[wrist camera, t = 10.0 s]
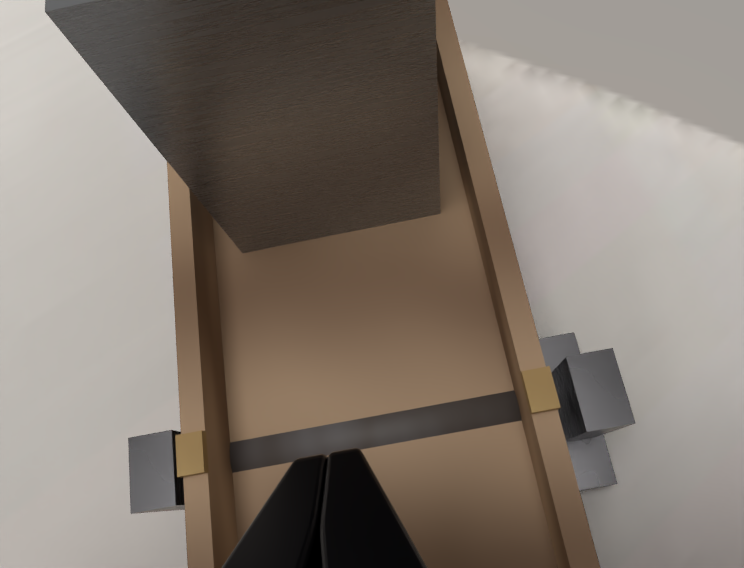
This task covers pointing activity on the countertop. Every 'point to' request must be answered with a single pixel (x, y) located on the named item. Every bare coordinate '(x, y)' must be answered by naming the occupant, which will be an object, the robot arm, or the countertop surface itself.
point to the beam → (378, 368)
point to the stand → (577, 413)
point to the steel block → (277, 105)
